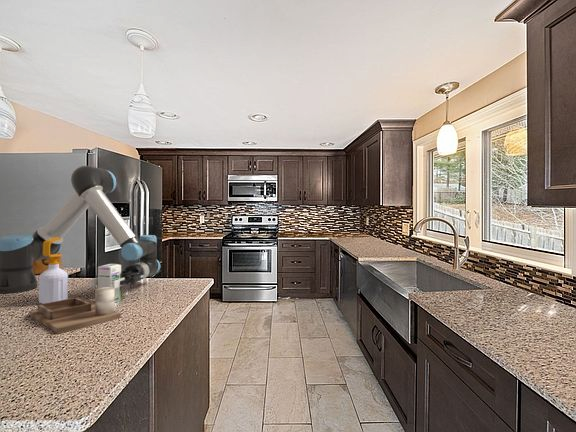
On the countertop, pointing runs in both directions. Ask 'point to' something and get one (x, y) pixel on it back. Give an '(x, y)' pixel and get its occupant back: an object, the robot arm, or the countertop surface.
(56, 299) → the soap bottle
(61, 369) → the countertop surface
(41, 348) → the countertop surface
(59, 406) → the countertop surface
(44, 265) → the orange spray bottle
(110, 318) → the caddy
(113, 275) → the syrup box
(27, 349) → the countertop surface
